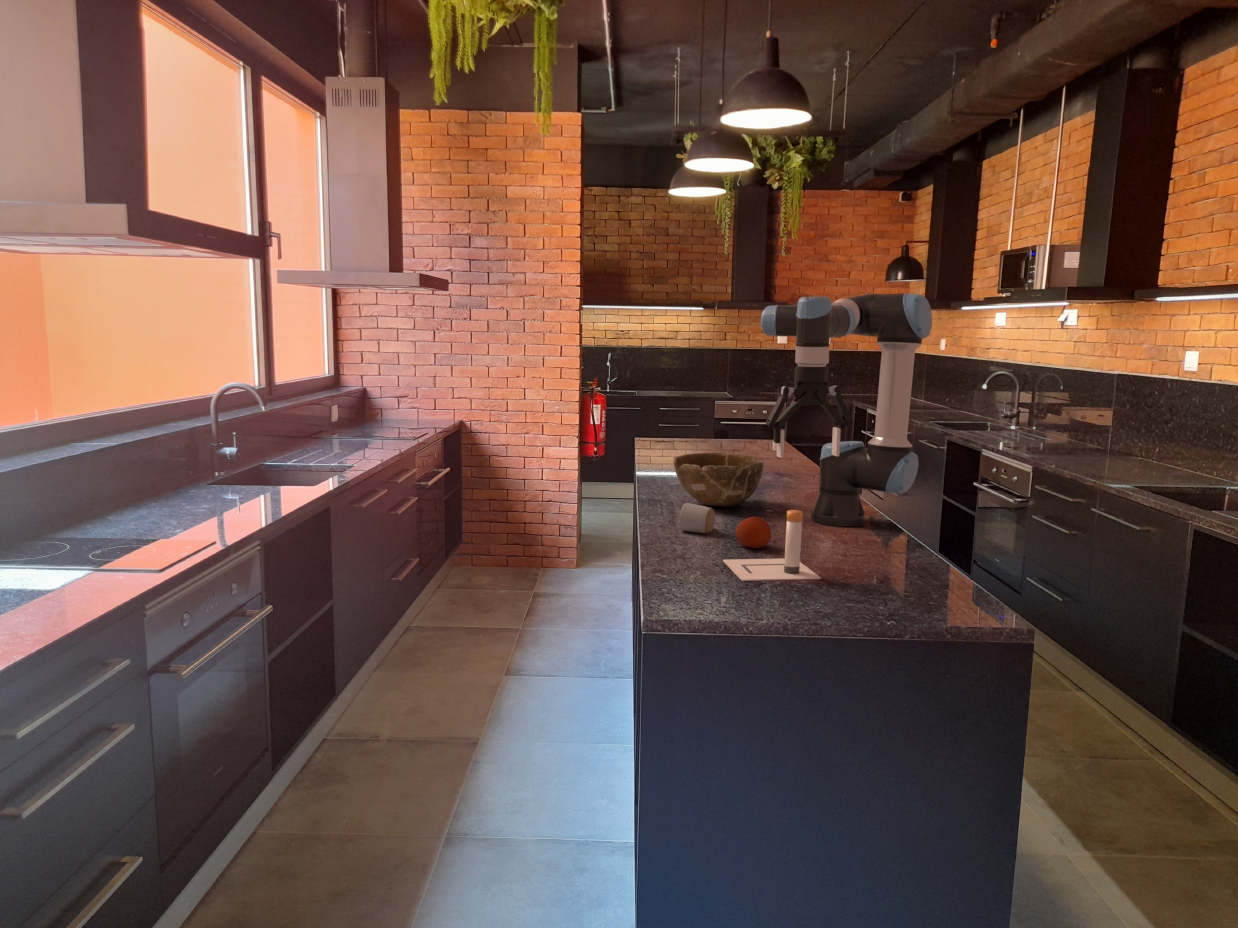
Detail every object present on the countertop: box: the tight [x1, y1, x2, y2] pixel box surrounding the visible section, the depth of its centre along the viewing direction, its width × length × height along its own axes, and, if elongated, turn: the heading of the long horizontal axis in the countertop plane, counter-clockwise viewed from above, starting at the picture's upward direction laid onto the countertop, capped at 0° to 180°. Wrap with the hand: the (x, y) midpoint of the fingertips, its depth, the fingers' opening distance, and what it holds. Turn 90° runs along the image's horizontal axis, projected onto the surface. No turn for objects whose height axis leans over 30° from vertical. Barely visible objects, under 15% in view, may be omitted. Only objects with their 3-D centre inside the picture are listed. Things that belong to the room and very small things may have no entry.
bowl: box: [673, 452, 764, 508], centre depth 261 cm, size 28×27×15 cm
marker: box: [784, 509, 804, 574], centre depth 190 cm, size 4×4×14 cm
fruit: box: [735, 515, 772, 549], centre depth 213 cm, size 9×9×8 cm
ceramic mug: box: [678, 502, 716, 535], centre depth 229 cm, size 11×8×8 cm
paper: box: [722, 557, 822, 582], centre depth 194 cm, size 18×16×1 cm
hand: (807, 456), depth 198 cm, fingers open, 13 cm apart
